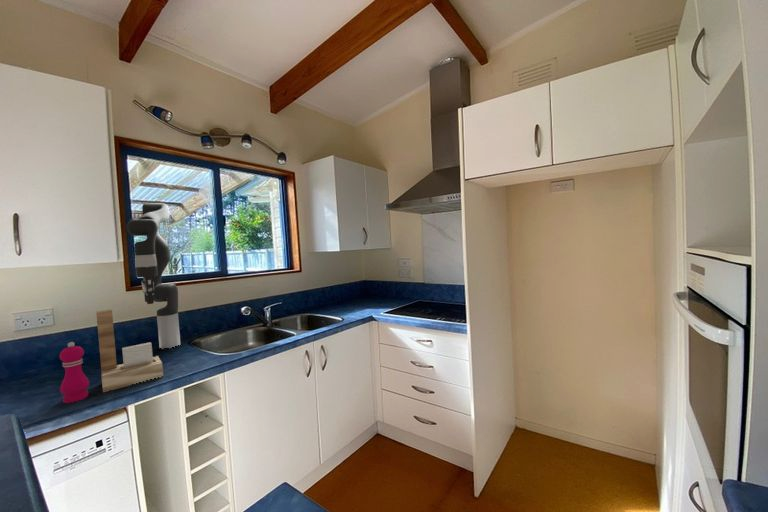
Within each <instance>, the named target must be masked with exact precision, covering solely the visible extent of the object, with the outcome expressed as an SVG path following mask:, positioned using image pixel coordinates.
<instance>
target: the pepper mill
mask: <svg viewBox="0 0 768 512" xmlns="http://www.w3.org/2000/svg"><path fill="white" fill-rule="evenodd" d="M84 354H85V350H84V348H82V347H81V346H79V345H75V342H73V341H71V342H68V343H67V347H65V348H63V349H62V350H61V352H60V353H59V359H60V361H62V362H61V363H62V364H61V365H62V367H63V368H64V371H65V374H64V378H63V380H62V382H61V384H60V388H59V392H60V394H62V395H64V396H63V397H62V402H63V403H64V404H71V402H72V403H76V402H79V400H80V401H81V400H84V399H86V398H87V397H89V391H88V388H89V386H90V381H89V378H88V377H87V376H86V375H85V373H84V371H83V369H82V364H83V363H84V361H83V360H84V359H83V358H82V357H83V356H84ZM75 401H76V402H75Z"/></svg>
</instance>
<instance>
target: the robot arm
mask: <svg viewBox="0 0 768 512" xmlns="http://www.w3.org/2000/svg"><path fill="white" fill-rule="evenodd" d="M141 207H142V208H141V209H142V213H141V214H142V215H140V216H138V217H135V218H131V219H130V220H129V221H128V222H127V225H126V230H127V232H128V233H129V234H130V235H131V236H134V237H146V239H145V240H139V241H136V242H134V246H133V247H134V265H135V266H134V267H135V277H136V278H142V280H141V288H142V291H143V294H144V302H145V303H147V305H153V304H154V302H155V303H163V302H167V303H166V305H165V306H164V307H160V308H159V309H157V310H156V320H157V322H156V323H157V332H158V344H159V349H160V348H161V350H165V349H164V348H169V349H173V348H172V347H174V348H176V347H175V346H177V347H179V346H181V333H180V323H179V322H180V320H179V291H178V287H177V284H175V283H162V278H163V274H164V271H165V269H166V268H167V266H168V264H169V262H170V260H171V250H170V246H169V244H168V243H167V241H166V240H165V239H164V238H163V237H162V236H161V235H160V233H159V232H158V231H159V225H160V224H161V223H164V222H165V221H166V222H167V221H168V220H169V218H171V217H170V215H171V213H170V208H169V205H167V204H166V203H165V202H164V203H163V202H150V203H149V202H146V203H143V204H142V206H141ZM178 345H179V346H178Z"/></svg>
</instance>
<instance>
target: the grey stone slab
mask: <svg viewBox="0 0 768 512" xmlns="http://www.w3.org/2000/svg"><path fill="white" fill-rule="evenodd" d="M152 346H153V344H152V342H146V343H145V342H144V343H139V344H136V345H130V346H126V347H125V346H124V347H121V349H122V350H121V351H122V360H123V361H122V362H123V363H122V364H124V369H128V368H132V367H136V366H141V365H145V364H149V363H153V357H154V356H153V355H154V354H153V347H152Z"/></svg>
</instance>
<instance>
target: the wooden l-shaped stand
mask: <svg viewBox="0 0 768 512" xmlns="http://www.w3.org/2000/svg"><path fill="white" fill-rule="evenodd" d="M96 325H97V336H98V348H99V357H100V358H99V360H100V368H101V369H100V370H101V371H100V372H101V385H102V393H107V392H110V390H111V391H113V390H118V389H122V388H125V387H129V386H132V384H133V385H136V383H137V384H140V383H139V382H141V383H144V382H147V381H146V380H148V381H151V380H150V379H152V380H155V379H154V378H156V379H158V377H159V378H163V377H164V369H163V367H164V366H163V362H162V360H161V359H160V357H159V355H156V356H153V363H149V364H145V365H141V366H136V367H132V368H128V369H124V363H122V364H118V363H117V351H116V342H115V339H116V338H115V330H114V329H115V328H114V317H113V309H105V310H99V311H96ZM162 376H163V377H162ZM143 381H144V382H143Z"/></svg>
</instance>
